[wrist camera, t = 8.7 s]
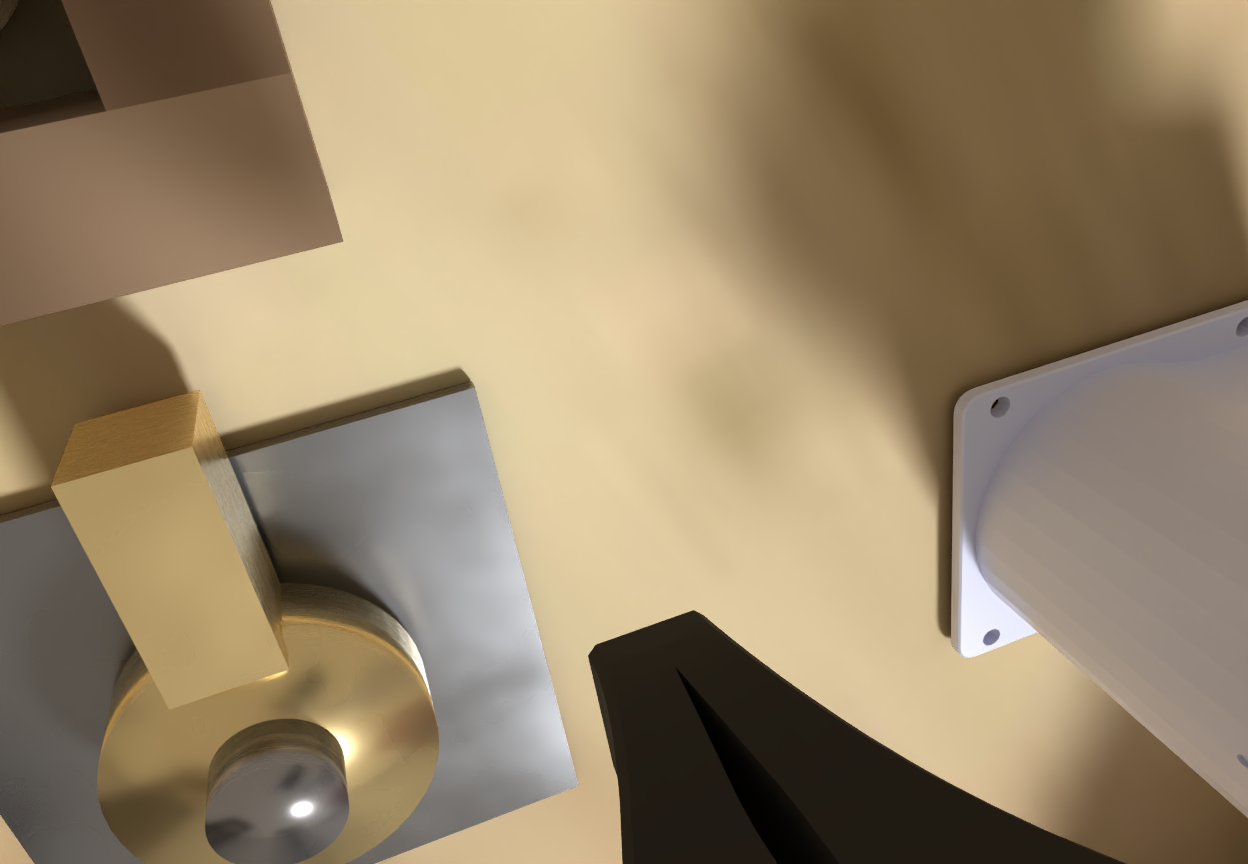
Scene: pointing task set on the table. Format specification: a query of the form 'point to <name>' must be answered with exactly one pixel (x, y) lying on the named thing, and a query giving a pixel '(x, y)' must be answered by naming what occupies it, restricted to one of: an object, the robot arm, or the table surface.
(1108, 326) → the table surface
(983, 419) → the robot arm
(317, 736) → the ring nut
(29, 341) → the table surface
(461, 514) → the plate
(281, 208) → the socket block
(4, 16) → the pin
